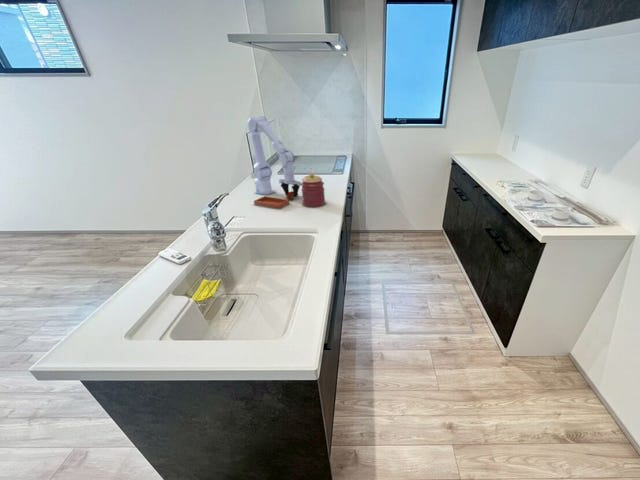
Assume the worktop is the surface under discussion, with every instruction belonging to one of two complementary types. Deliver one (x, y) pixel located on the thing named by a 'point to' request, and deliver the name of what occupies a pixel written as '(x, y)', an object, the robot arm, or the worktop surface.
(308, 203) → the kitchen canister
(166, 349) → the worktop surface
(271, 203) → the tray
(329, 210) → the worktop surface
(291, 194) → the vegetable
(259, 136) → the robot arm
